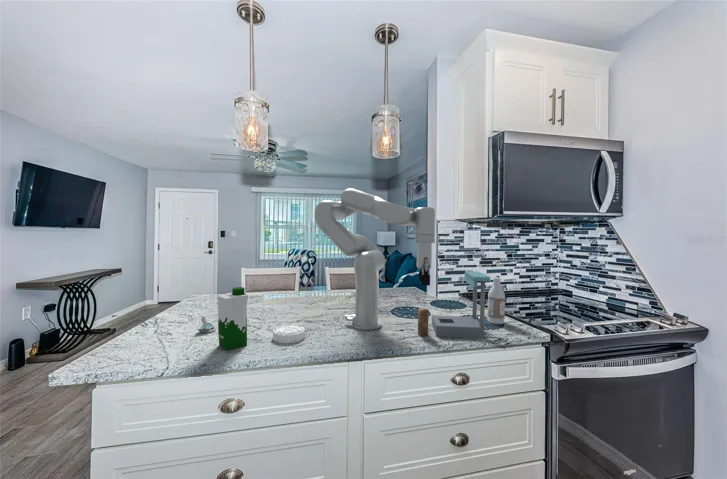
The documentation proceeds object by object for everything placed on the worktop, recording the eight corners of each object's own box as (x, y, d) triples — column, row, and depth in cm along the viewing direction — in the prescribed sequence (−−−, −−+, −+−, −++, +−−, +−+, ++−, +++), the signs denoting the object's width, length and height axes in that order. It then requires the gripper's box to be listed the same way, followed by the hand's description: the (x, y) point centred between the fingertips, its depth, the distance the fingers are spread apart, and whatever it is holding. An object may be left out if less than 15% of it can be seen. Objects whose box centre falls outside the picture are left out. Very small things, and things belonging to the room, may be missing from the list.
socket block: (436, 336, 119) (436, 325, 119) (431, 324, 133) (431, 315, 133) (484, 338, 118) (484, 327, 117) (474, 326, 132) (474, 316, 131)
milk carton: (250, 345, 109) (250, 289, 108) (224, 352, 102) (223, 293, 101) (240, 338, 115) (240, 285, 114) (215, 345, 109) (214, 289, 108)
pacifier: (217, 327, 128) (202, 328, 126) (218, 313, 127) (202, 313, 126) (213, 334, 120) (196, 334, 119) (213, 318, 120) (196, 318, 119)
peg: (418, 336, 119) (418, 310, 119) (417, 332, 123) (417, 307, 123) (428, 336, 119) (429, 311, 118) (427, 333, 123) (428, 308, 122)
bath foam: (498, 325, 133) (499, 279, 132) (484, 321, 138) (485, 277, 138) (507, 322, 136) (508, 278, 136) (493, 318, 142) (494, 276, 141)
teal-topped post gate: (472, 338, 118) (473, 276, 117) (463, 325, 133) (464, 271, 131) (488, 338, 117) (490, 277, 116) (477, 325, 132) (479, 271, 131)
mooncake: (305, 342, 112) (305, 333, 112) (271, 345, 110) (271, 335, 110) (305, 331, 124) (305, 322, 124) (274, 333, 122) (274, 324, 121)
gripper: (413, 238, 128) (412, 279, 129) (416, 240, 111) (416, 287, 112) (431, 238, 128) (431, 279, 128) (437, 240, 110) (437, 287, 111)
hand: (424, 282), depth 120 cm, fingers open, 9 cm apart
